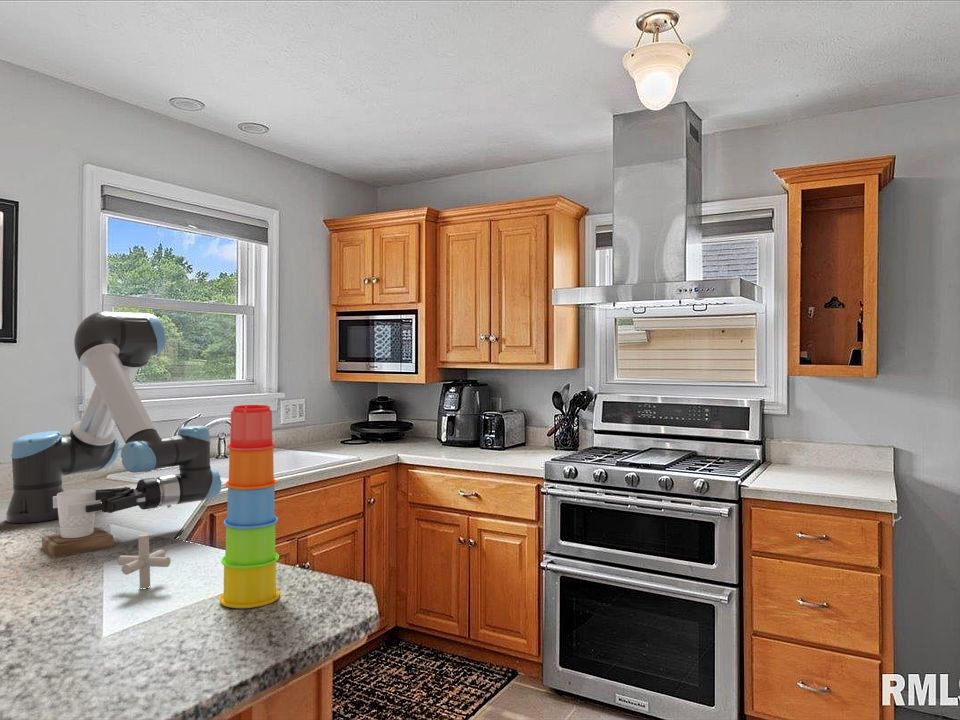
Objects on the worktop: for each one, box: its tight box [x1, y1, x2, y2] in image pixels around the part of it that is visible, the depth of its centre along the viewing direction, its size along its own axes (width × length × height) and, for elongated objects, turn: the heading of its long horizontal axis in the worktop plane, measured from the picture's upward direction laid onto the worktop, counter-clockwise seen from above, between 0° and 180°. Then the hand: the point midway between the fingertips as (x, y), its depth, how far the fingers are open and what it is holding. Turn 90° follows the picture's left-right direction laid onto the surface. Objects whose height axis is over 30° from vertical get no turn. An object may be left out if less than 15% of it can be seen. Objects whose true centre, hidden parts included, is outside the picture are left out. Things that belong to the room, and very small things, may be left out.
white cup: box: [57, 488, 97, 538], centre depth 163 cm, size 8×8×10 cm
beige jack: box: [117, 533, 172, 590], centre depth 133 cm, size 10×10×10 cm
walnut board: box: [41, 526, 115, 559], centre depth 163 cm, size 12×12×3 cm
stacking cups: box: [218, 404, 281, 609], centre depth 125 cm, size 10×10×35 cm
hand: (60, 506), depth 161 cm, fingers open, 13 cm apart
